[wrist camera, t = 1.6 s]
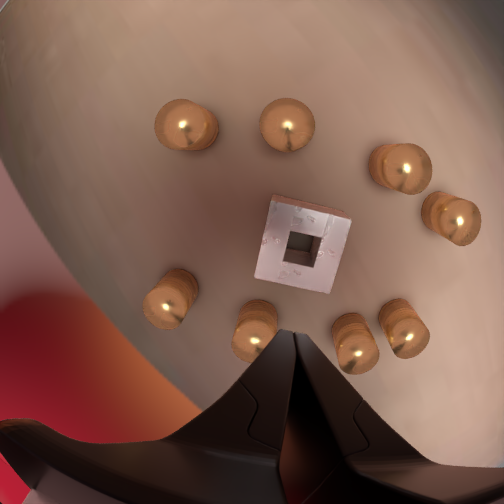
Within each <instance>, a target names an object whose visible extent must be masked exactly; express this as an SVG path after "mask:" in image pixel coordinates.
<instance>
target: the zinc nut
mask: <svg viewBox="0 0 504 504" xmlns="http://www.w3.org/2000/svg"><path fill="white" fill-rule="evenodd" d="M351 221H352V220H351V219H350V218H349V217H348V216H347V215H346V214H345V213H344V212H343V211H341V210H337V209H333V208H329V207H325V206H321V205H317V204H313V203H308V202H304V201H300V200H296V199H292V198H287V197H283V196H278V195H274V194H272V199H271V203H270V207H269V212H268V216H267V221H266V226H265V230H264V235H263V239H262V244H261V248H260V253H259V257H258V262H257V266H256V271H255V275H254V278H258V279H262V280H267V281H271V282H276V283H280V284H285V285H289V286H294V287H299V288H303V289H308V290H313V291H317V292H322V293H327V294H330V291H331V288H332V285H333V281H334V278H335V275H336V272H337V269H338V266H339V263H340V259H341V256H342V253H343V249H344V246H345V243H346V239H347V236H348V232H349V229H350V225H351ZM290 230H291V231H295V232H299V233H304V234H308V235H312V236H314V239H313V243H312V247H311V250H310V253H308V252H303V251H299V250H295V249H290V248H286V245H287V241H288V237H289V233H290Z"/></svg>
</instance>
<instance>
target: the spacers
mask: <svg viewBox="0 0 504 504" xmlns="http://www.w3.org/2000/svg"><path fill="white" fill-rule="evenodd" d="M218 130H219V126H218V121H217V119H216V117H215V116H214V115H213V114H212V113H211V112H210V111H208V110H206V109H204V108H203V107H201V106H199V105H197V104H195V103H194V102H192V101H189V100H186V99H177V100H173V101H171V102H169V103H167V104H166V105H165V106H163V107H162V108H161V110H160V111H159V113H158V114H157V117H156V120H155V133H156V136H157V138H158V140H159V141H160V142H161V143H162V144H163V145H164V146H166V147H168V148H170V149H177V150H202V149H205V148H207V147H208V146H210V145H211V144H212V143H213V142H214V141H215V139H216V137H217V135H218ZM260 131H261V134H262V136H263V138H264V139H265V140H266V142H267V143H268V144H269V145H270V146H272V147H273V148H274V149H276V150H278V151H281V152H292V151H295V150H298V149H300V148H302V147H304V146H305V145H306V144H307V143H308V142H309V141H310V140H311V138H312V136H313V134H314V131H315V120H314V117H313V114H312V112H311V111H310V109H309V108H308V107H307V106H306V105H305V104H303V103H302V102H300V101H298V100H295V99H290V98H283V99H278V100H275V101H273V102H272V103H270V104H269V105H268V106H267V107H266V108H265V109H264V111H263V112H262V114H261V117H260ZM369 170H370V173H371V176H372V177H373V179H374V180H375V181H376V182H377V183H378V184H380V185H382V186H385V187H388V188H391V189H393V190H396V191H399V192H402V193H405V194H409V195H414V194H418V193H420V192H422V191H423V190H424V189H425V188H426V187H427V186H428V184H429V183H430V180H431V177H432V164H431V160H430V158H429V156H428V154H427V153H426V152H425V151H424V150H423V149H422V148H421V147H419V146H417V145H415V144H391V145H382V146H380V147H378V148H376V149H375V150H374V151H373V152H372V154H371V156H370V159H369ZM422 219H423V221H424V223H425V225H426V226H427V227H428V228H429V229H431V230H433V231H434V232H436V233H438V234H440V235H441V236H443V237H445V238H446V239H448V240H449V241H451V242H453V243H454V244H456V245H458V246H466V245H468V244H470V243H471V242H473V241H474V240H475V238H476V237H477V235H478V233H479V231H480V227H481V215H480V211H479V209H478V207H477V206H476V205H475V204H474V203H473V202H471V201H468V200H465V199H462V198H459V197H455V196H452V195H449V194H446V193H443V192H434V193H432V194H430V195H429V196H428V197H427V198H426V199H425V201H424V203H423V206H422ZM197 294H198V284H197V281H196V279H195V278H194V277H193V275H191V274H190V273H189V272H187V271H185V270H182V269H174V270H171V271H169V272H168V273H167V274H166V275H165V276H164V277H163V278H162V279H161V280H160V281H159V282H158V283H157V285H156V286H155V287H154V288H153V289H152V290H151V291H150V292H149V293H148V294H147V296H146V297H145V298H144V300H143V312H144V314H145V316H146V318H147V319H148V320H149V322H151V323H152V324H153V325H154V326H156V327H158V328H160V329H165V330H171V329H174V328H176V327H178V326H179V325H180V324H181V322H182V321H183V319H184V317H185V315H186V314H187V312H188V310H189V309H190V307H191V305H192V303H193V302H194V300H195V298H196V297H197ZM277 317H278V316H277V312H276V310H275V308H274V307H273V306H272V305H271V304H270V303H268V302H266V301H263V300H252V301H249V302H247V303H246V304H245V305H244V306H243V307H242V308H241V310H240V313H239V317H238V321H237V324H236V328H235V332H234V335H233V339H232V349H233V351H234V353H235V354H236V356H237V357H239V358H240V359H241V360H243V361H246V362H249V363H252V362H253V361H254V360H255V359H256V357H257V356H258V355H259V354H260V353H261V352H262V350H263V349H264V348H265V347H266V345H267V344H268V343H269V342H270V341H271V339H272V338H273V337H274V336H275V334H276V333H277ZM379 323H380V325H381V327H382V329H383V331H384V333H385V335H386V337H387V339H388V342H389V344H390V346H391V348H392V350H393V352H394V354H395V355H396V356H397V357H399V358H402V359H408V358H412V357H414V356H416V355H418V354H419V353H421V352H422V351H423V350H424V349H425V347H426V346H427V344H428V342H429V338H430V333H429V330H428V329H427V327H426V326H425V324H424V323H423V322H422V320H421V319H420V317H419V316H418V315H417V313H416V312H415V311H414V309H413V308H412V307H411V305H410V304H409V303H408V302H407V301H406V300H403V299H395V300H392V301H390V302H388V303H387V304H386V305H385V306H384V307H383V308H382V309H381V311H380V314H379ZM332 336H333V340H334V344H335V349H336V353H337V357H338V362H339V366H340V368H341V369H342V370H343V371H344V372H345V373H348V374H353V375H357V374H362V373H365V372H367V371H369V370H370V369H372V368H373V367H374V366H375V365H376V363H377V362H378V359H379V350H378V347H377V345H376V343H375V340H374V338H373V336H372V333H371V331H370V329H369V326H368V324H367V322H366V320H365V318H364V317H363V316H361V315H359V314H356V313H349V314H345V315H343V316H341V317H340V318H338V319H337V320H336V321H335V323H334V324H333V327H332Z"/></svg>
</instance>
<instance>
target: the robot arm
mask: <svg viewBox="0 0 504 504" xmlns="http://www.w3.org/2000/svg"><path fill="white" fill-rule="evenodd" d="M0 452H1V454H2V455H3V456H4V458H5V459H6V460H7V462H8V463H9V464H10V466H11V467H12V468H13V469H14V471H15V472H16V473H17V474H18V475H19V477H20V478H21V479H22V480H23V481H24V482H25V483H26V485H27V486H28V487H29V488H30V489H31V491H30V492H29V494H28V496H27V497H26V499H25V500H24V502H23V504H504V468H485V467H463V466H450V465H442V464H438V463H435V462H433V461H431V460H429V459H427V458H426V457H424V456H423V455H422V454H421V453H419V452H418V451H417V450H416V449H415V448H414V447H413V446H411V445H410V444H409V443H408V442H407V441H406V440H405V439H404V438H402V437H401V436H400V435H399V434H398V433H397V432H396V431H395V430H393V429H392V428H391V427H390V426H389V425H388V424H387V423H386V422H385V421H384V420H383V419H382V418H381V417H380V416H379V415H378V414H377V413H376V412H375V411H374V410H373V409H372V408H371V406H370V405H369V404H368V403H367V402H366V401H365V400H363V398H362V396H361V395H360V394H359V393H358V392H357V391H356V390H355V389H354V387H353V386H352V385H351V384H350V383H349V382H348V381H347V380H346V378H345V377H344V376H343V375H342V374H341V373H340V372H339V371H338V369H337V368H336V367H335V366H334V365H333V364H332V363H331V361H330V360H329V359H328V358H327V357H326V356H325V355H324V353H323V352H322V351H321V350H320V349H319V348H318V347H317V345H316V344H315V343H314V342H313V341H312V340H311V339H310V337H309V336H308V335H307V334H303V333H298V332H294V333H293V332H292V331H288V330H283V329H280V330H279V331H278V332H277V333H276V334H275V336H274V337H273V338H272V339H271V341H270V342H269V343H268V344H267V345H266V347H265V348H264V349H263V350H262V352H261V353H260V354H259V355H258V356H257V357H256V359H255V360H254V361H253V362H252V363H251V365H250V366H249V367H248V368H247V369H246V370H245V372H244V373H243V374H242V375H241V376H240V377H239V379H238V380H237V381H236V382H235V383H234V384H233V385H232V386H231V387H230V388H229V389H228V391H227V392H226V393H225V394H224V395H223V396H222V397H221V398H219V399H218V400H217V401H216V402H215V403H213V404H212V405H211V406H210V407H209V408H207V409H206V410H205V411H203V412H202V413H201V414H199V415H198V416H197V417H195V418H194V419H193V420H191V421H190V422H188V423H187V424H186V425H184V426H183V427H181V428H180V429H179V430H177V431H176V432H174V433H172V434H171V435H169V436H167V437H165V438H163V439H160V440H155V441H143V442H129V443H105V444H104V443H103V444H102V443H101V444H99V443H88V442H82V441H78V440H75V439H72V438H69V437H67V436H65V435H62V434H60V433H58V432H57V431H55V430H53V429H52V428H50V427H48V426H46V425H44V424H42V423H41V422H38V421H36V420H33V419H28V418H23V419H16V418H15V419H6V420H2V421H0ZM0 504H2V503H1V502H0Z"/></svg>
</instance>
